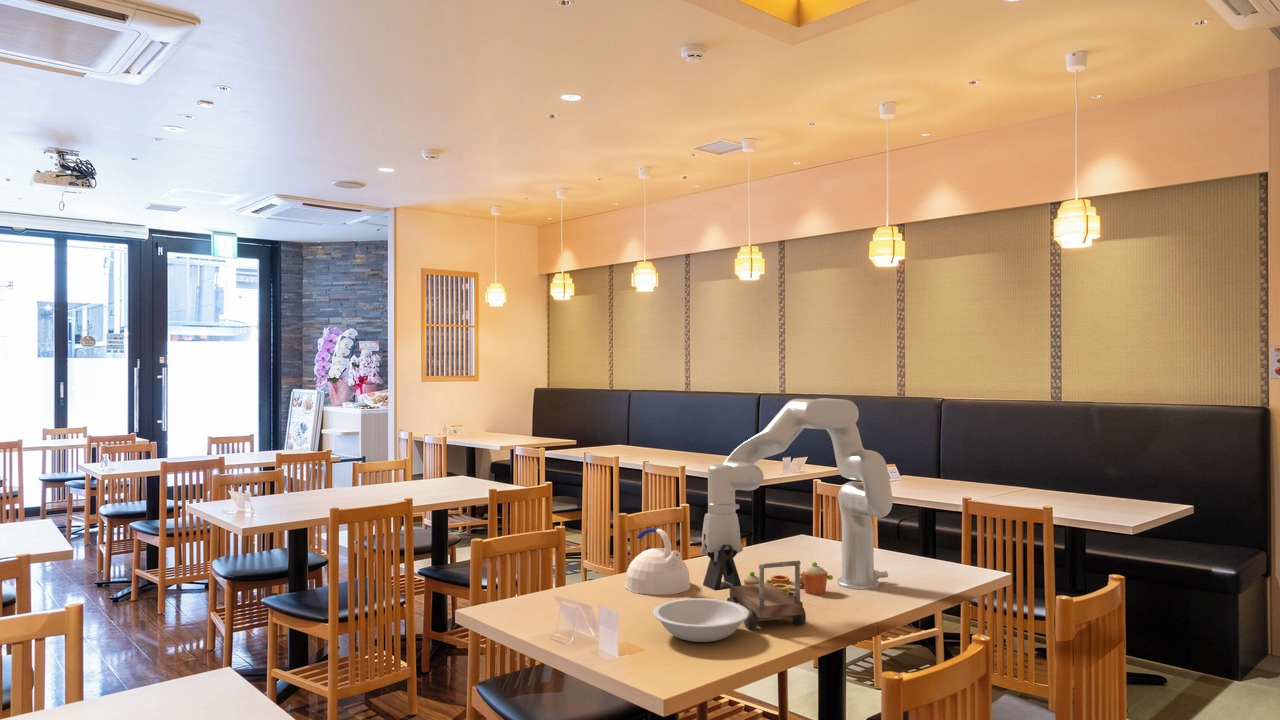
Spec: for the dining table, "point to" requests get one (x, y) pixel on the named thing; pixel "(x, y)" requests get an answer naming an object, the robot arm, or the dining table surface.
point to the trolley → (769, 599)
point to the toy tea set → (810, 580)
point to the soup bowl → (701, 618)
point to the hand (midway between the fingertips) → (721, 574)
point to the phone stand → (716, 572)
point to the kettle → (658, 569)
